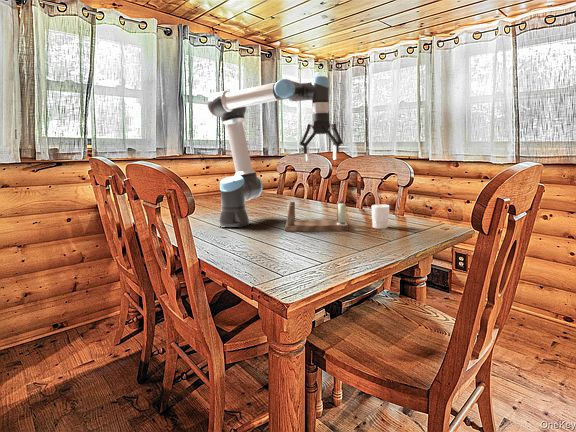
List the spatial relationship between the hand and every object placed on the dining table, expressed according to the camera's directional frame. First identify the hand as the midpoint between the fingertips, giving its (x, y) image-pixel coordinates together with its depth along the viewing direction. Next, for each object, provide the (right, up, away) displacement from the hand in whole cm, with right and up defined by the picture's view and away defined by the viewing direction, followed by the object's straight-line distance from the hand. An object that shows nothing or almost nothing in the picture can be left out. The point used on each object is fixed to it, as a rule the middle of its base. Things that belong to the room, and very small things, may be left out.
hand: (321, 160), depth 175 cm
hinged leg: (+9, -28, -2) cm, 30 cm away
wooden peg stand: (-2, -31, +1) cm, 31 cm away
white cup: (+27, -31, -1) cm, 41 cm away
